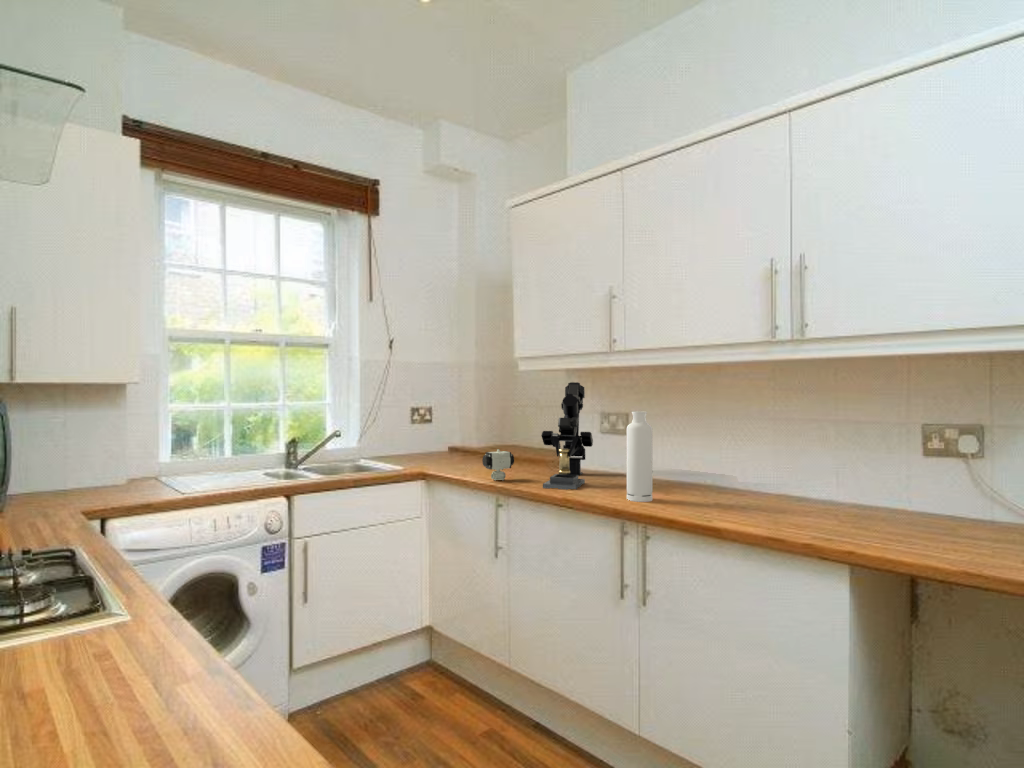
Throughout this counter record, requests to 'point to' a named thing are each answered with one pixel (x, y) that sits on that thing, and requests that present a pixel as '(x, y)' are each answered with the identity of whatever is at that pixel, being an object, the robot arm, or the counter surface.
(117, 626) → the counter surface
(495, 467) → the pneumatic valve
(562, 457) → the brass coupling
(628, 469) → the bottle
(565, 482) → the plate
